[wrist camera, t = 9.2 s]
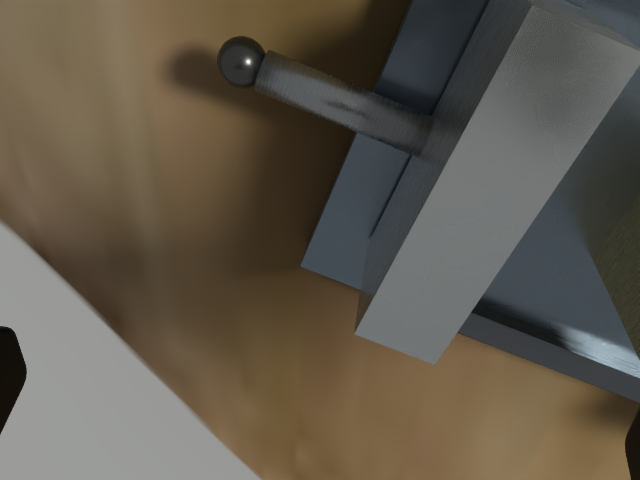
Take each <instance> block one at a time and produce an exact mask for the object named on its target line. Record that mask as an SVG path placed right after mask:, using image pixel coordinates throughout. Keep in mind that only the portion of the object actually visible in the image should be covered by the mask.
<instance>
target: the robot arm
mask: <svg viewBox="0 0 640 480" xmlns="http://www.w3.org/2000/svg"><path fill="white" fill-rule="evenodd" d="M26 374H27V370H26V364H25V361H24V358H23V355H22V352H21V349H20V346H19V343H18V340H17V337H16V334H15V332H14V331H13V330H12V329H11V328H8V327H3V326H0V434H1V432H2V430H3V428H4V426H5V423H6V421H7V419H8V417H9V415H10V413H11V411H12V409H13V407H14V405H15V403H16V400H17V398H18V396H19V394H20V392H21V390H22V388H23V386H24V382H25V380H26ZM625 452H626V457H627V462H628V467H629V471H630V476H631V480H640V407H639V409H638V411H637V413H636V416H635V418H634V420H633V422H632V424H631V426H630V429H629V431H628V433H627V436H626V440H625Z"/></svg>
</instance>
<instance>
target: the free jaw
mask: <svg viewBox="0 0 640 480" xmlns="http://www.w3.org/2000/svg"><path fill="white" fill-rule="evenodd" d="M639 65H640V49H639V48H637V47H636V46H635V45H633V44H632V43H631V42H629V41H628V40H627V39H625V38H624V37H623V36H621V35H620V34H618V33H617V32H616V31H614V30H613V29H612V28H610V27H609V26H608V25H606V24H605V23H603V22H602V21H601V20H599V19H598V18H597V17H595V16H594V15H593V14H591V13H590V12H588V11H587V10H584V9H582V8H580V7H577V6H575V5H573V4H570V3H568V2H566V1H563V0H490V1H489V3H488V5H487V7H486V9H485V11H484V13H483V15H482V17H481V19H480V21H479V23H478V25H477V27H476V29H475V31H474V33H473V35H472V37H471V39H470V41H469V43H468V45H467V47H466V49H465V51H464V53H463V55H462V57H461V59H460V61H459V63H458V65H457V67H456V69H455V71H454V73H453V75H452V77H451V79H450V81H449V83H448V85H447V87H446V89H445V91H444V93H443V95H442V97H441V99H440V101H439V103H438V105H437V107H436V109H435V111H434V113H433V115H432V116H429V115H427V114H424V113H422V112H419V111H417V110H415V109H412V108H410V107H407V106H405V105H402V104H400V103H398V102H395V101H393V100H390V99H388V98H385V97H383V96H380V95H378V94H376V93H373V92H371V91H368V90H366V89H363V88H361V87H359V86H356V85H354V84H351V83H349V82H346V81H344V80H342V79H339V78H337V77H334V76H332V75H329V74H327V73H325V72H322V71H320V70H317V69H315V68H312V67H310V66H308V65H305V64H303V63H300V62H298V61H295V60H293V59H291V58H288V57H286V56H283V55H281V54H278V53H276V52H273V51H271V50H268V52H267V53H266V54H265V51H264V50H263V48H262V47H261V45H260V44H259V43H258V42H256V41H255V40H254V39H252V38H249V37H245V36H237V37H233V38H231V39H229V40H227V41H226V42H225V43H224V44H223V45H222V47H221V48H220V50H219V53H218V56H217V66H218V70H219V73H220V75H221V76H222V78H223V79H224V80H225V81H226V82H227V83H228V84H230V85H232V86H234V87H237V88H249V87H252V86H254V85H255V88H254V90H255V91H256V92H258V93H261V94H263V95H265V96H268V97H270V98H273V99H275V100H278V101H280V102H283V103H285V104H288V105H290V106H293V107H295V108H297V109H300V110H302V111H305V112H307V113H310V114H312V115H315V116H317V117H320V118H322V119H325V120H327V121H330V122H332V123H334V124H337V125H339V126H342V127H344V128H347V129H349V130H352V131H354V132H357V133H359V134H362V135H364V136H367V137H369V138H371V139H374V140H376V141H379V142H381V143H384V144H386V145H389V146H391V147H394V148H396V149H399V150H401V151H403V152H406V153H408V154H411V155H412V157H411V159H410V161H409V163H408V165H407V167H406V169H405V171H404V173H403V175H402V177H401V179H400V181H399V183H398V185H397V187H396V189H395V191H394V193H393V195H392V197H391V199H390V201H389V203H388V205H387V207H386V209H385V211H384V213H383V215H382V217H381V219H380V221H379V223H378V225H377V227H376V229H375V231H374V233H373V235H372V237H371V239H370V241H369V243H368V245H367V249H366V256H365V263H364V270H363V277H362V283H361V290H360V297H359V304H358V311H357V318H356V324H355V331H354V334H355V335H358V336H360V337H363V338H365V339H368V340H371V341H373V342H376V343H379V344H381V345H384V346H386V347H389V348H392V349H394V350H397V351H400V352H402V353H405V354H407V355H410V356H413V357H415V358H418V359H421V360H423V361H426V362H428V363H431V364H434V365H435V364H436V363H437V361H438V360H439V358H440V357H441V356H442V354H443V353H444V351H445V350H446V348H447V347H448V345H449V344H450V342H451V341H452V339H453V338H454V336H455V335H456V334H457V332H458V331H459V329H460V328H461V326H462V325H463V323H464V322H465V320H466V319H467V317H468V316H469V314H470V313H471V312H472V310H473V309H474V307H475V306H476V304H477V303H478V301H479V300H480V298H481V297H482V295H483V294H484V292H485V291H486V290H487V288H488V287H489V285H490V284H491V282H492V281H493V279H494V278H495V276H496V275H497V273H498V272H499V270H500V269H501V268H502V266H503V265H504V263H505V262H506V260H507V259H508V257H509V256H510V254H511V253H512V251H513V250H514V249H515V247H516V246H517V244H518V243H519V241H520V240H521V238H522V237H523V235H524V234H525V232H526V231H527V229H528V228H529V227H530V225H531V224H532V222H533V221H534V219H535V218H536V216H537V215H538V213H539V212H540V210H541V209H542V207H543V206H544V205H545V203H546V202H547V200H548V199H549V197H550V196H551V194H552V193H553V191H554V190H555V188H556V187H557V185H558V184H559V183H560V181H561V180H562V178H563V177H564V175H565V174H566V172H567V171H568V169H569V168H570V166H571V165H572V164H573V162H574V161H575V159H576V158H577V156H578V155H579V153H580V152H581V150H582V149H583V147H584V146H585V144H586V143H587V142H588V140H589V139H590V137H591V136H592V134H593V133H594V131H595V130H596V128H597V127H598V125H599V124H600V122H601V121H602V120H603V118H604V117H605V115H606V114H607V112H608V111H609V109H610V108H611V106H612V105H613V103H614V102H615V100H616V99H617V98H618V96H619V95H620V93H621V92H622V90H623V89H624V87H625V86H626V84H627V83H628V81H629V80H630V78H631V77H632V76H633V74H634V73H635V71H636V70H637V68H638V67H639Z"/></svg>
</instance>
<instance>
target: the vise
mask: <svg viewBox="0 0 640 480" xmlns="http://www.w3.org/2000/svg"><path fill="white" fill-rule="evenodd" d="M489 1H490V0H411V1H410V3H409V5H408V8H407V10H406V12H405V15H404V17H403V19H402V22H401V24H400V26H399V29H398V31H397V33H396V36H395V38H394V41H393V43H392V45H391V48H390V50H389V52H388V55H387V57H386V59H385V62H384V64H383V66H382V69H381V71H380V74H379V76H378V78H377V81H376V83H375V85H374V88H373V90H372V92H373V93H376V94H378V95H380V96H383V97H385V98H388V99H390V100H393V101H395V102H398V103H400V104H402V105H405V106H407V107H410V108H412V109H415V110H417V111H419V112H422V113H424V114H427V115H429V116H432V115H433V113H434V111H435V109H436V107H437V105H438V103H439V101H440V99H441V97H442V95H443V93H444V91H445V89H446V87H447V85H448V83H449V81H450V79H451V77H452V75H453V73H454V71H455V69H456V67H457V65H458V63H459V61H460V59H461V57H462V55H463V53H464V51H465V49H466V47H467V45H468V43H469V41H470V39H471V37H472V35H473V33H474V31H475V29H476V27H477V25H478V23H479V21H480V19H481V17H482V15H483V13H484V11H485V9H486V7H487V5H488V3H489ZM563 1H566V2H568V3H570V4H573V5H575V6H577V7H580V8H582V9H584V10H587V11H588V12H590V13H591V14H593V15H594V16H595V17H597V18H598V19H599V20H601V21H602V22H603V23H605V24H606V25H608V26H609V27H610V28H612V29H613V30H614V31H616V32H617V33H618V34H620V35H621V36H623V37H624V38H625V39H627V40H628V41H629V42H631V43H632V44H633V45H635V46H636V47H637V48H639V49H640V0H563ZM411 157H412V155H411V154H408V153H406V152H403V151H401V150H399V149H396V148H394V147H391V146H389V145H386V144H384V143H381V142H379V141H376V140H374V139H371V138H369V137H367V136H364V135H362V134H359V133H357V132H354V135H353V137H352V139H351V142H350V144H349V147H348V149H347V151H346V154H345V156H344V158H343V161H342V163H341V165H340V168H339V170H338V172H337V175H336V177H335V180H334V182H333V184H332V187H331V189H330V191H329V194H328V196H327V198H326V201H325V203H324V205H323V208H322V210H321V213H320V215H319V217H318V220H317V222H316V224H315V227H314V229H313V231H312V234H311V236H310V238H309V241H308V243H307V246H306V249H305V252H304V255H303V259H302V262H301V265H300V267H303V268H305V269H308V270H310V271H313V272H315V273H318V274H321V275H323V276H326V277H328V278H331V279H334V280H336V281H339V282H341V283H344V284H346V285H349V286H352V287H354V288H357V289H359V290H361V283H362V277H363V270H364V263H365V256H366V249H367V245H368V243H369V241H370V239H371V237H372V235H373V233H374V231H375V229H376V227H377V225H378V223H379V221H380V219H381V217H382V215H383V213H384V211H385V209H386V207H387V205H388V203H389V201H390V199H391V197H392V195H393V193H394V191H395V189H396V187H397V185H398V183H399V181H400V179H401V177H402V175H403V173H404V171H405V169H406V167H407V165H408V163H409V161H410V159H411ZM639 195H640V65H639V67H638V68H637V70H636V71H635V73H634V74H633V76H632V77H631V78H630V80H629V81H628V83H627V84H626V86H625V87H624V89H623V90H622V92H621V93H620V95H619V96H618V98H617V99H616V100H615V102H614V103H613V105H612V106H611V108H610V109H609V111H608V112H607V114H606V115H605V117H604V118H603V120H602V121H601V122H600V124H599V125H598V127H597V128H596V130H595V131H594V133H593V134H592V136H591V137H590V139H589V140H588V142H587V143H586V144H585V146H584V147H583V149H582V150H581V152H580V153H579V155H578V156H577V158H576V159H575V161H574V162H573V164H572V165H571V166H570V168H569V169H568V171H567V172H566V174H565V175H564V177H563V178H562V180H561V181H560V183H559V184H558V185H557V187H556V188H555V190H554V191H553V193H552V194H551V196H550V197H549V199H548V200H547V202H546V203H545V205H544V206H543V207H542V209H541V210H540V212H539V213H538V215H537V216H536V218H535V219H534V221H533V222H532V224H531V225H530V227H529V228H528V229H527V231H526V232H525V234H524V235H523V237H522V238H521V240H520V241H519V243H518V244H517V246H516V247H515V249H514V250H513V251H512V253H511V254H510V256H509V257H508V259H507V260H506V262H505V263H504V265H503V266H502V268H501V269H500V270H499V272H498V273H497V275H496V276H495V278H494V279H493V281H492V282H491V284H490V285H489V287H488V288H487V290H486V291H485V292H484V294H483V295H482V297H481V298H480V300H479V301H478V303H477V304H476V306H475V307H474V309H473V310H472V312H471V313H470V314H469V316H468V317H467V319H466V320H465V322H464V323H463V325H462V326H461V328H460V329H459V331H458V332H457V333H460V334H463V335H465V336H468V337H470V338H473V339H476V340H478V341H481V342H483V343H486V344H488V345H491V346H494V347H496V348H499V349H501V350H504V351H507V352H509V353H512V354H514V355H517V356H520V357H522V358H525V359H527V360H530V361H532V362H535V363H538V364H540V365H543V366H545V367H548V368H551V369H553V370H556V371H558V372H561V373H564V374H566V375H569V376H571V377H574V378H576V379H579V380H582V381H584V382H587V383H589V384H592V385H595V386H597V387H600V388H602V389H605V390H608V391H610V392H613V393H615V394H618V395H620V396H623V397H626V398H628V399H631V400H633V401H636V402H639V403H640V360H639V358H638V356H637V354H636V352H635V350H634V348H633V345H632V343H631V341H630V339H629V337H628V335H627V332H626V330H625V328H624V326H623V324H622V322H621V320H620V317H619V315H618V313H617V311H616V309H615V307H614V305H613V302H612V300H611V298H610V296H609V294H608V292H607V289H606V287H605V285H604V283H603V281H602V279H601V277H600V274H599V272H598V270H597V268H596V266H595V264H594V262H593V259H592V257H591V256H592V255H593V254H594V253H595V251H596V250H597V249H598V247H599V246H600V245H601V244H602V242H603V241H604V240H605V239H606V237H607V236H608V235H609V233H610V232H611V231H612V230H613V228H614V227H615V226H616V225H617V223H618V222H619V221H620V219H621V218H622V217H623V216H624V214H625V213H626V212H627V211H628V209H629V208H630V207H631V205H632V204H633V203H634V202H635V200H636V199H637V198H638V197H639Z"/></svg>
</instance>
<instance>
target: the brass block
mask: <svg viewBox="0 0 640 480" xmlns="http://www.w3.org/2000/svg"><path fill="white" fill-rule="evenodd" d="M591 257H592V259H593V262H594V264H595V266H596V268H597V270H598V272H599V274H600V277H601V279H602V281H603V283H604V285H605V287H606V289H607V292H608V294H609V296H610V298H611V300H612V302H613V305H614V307H615V309H616V311H617V313H618V315H619V317H620V320H621V322H622V324H623V326H624V328H625V330H626V332H627V335H628V337H629V339H630V341H631V343H632V345H633V348H634V350H635V352H636V354H637V356H638V358H639V360H640V195H639V197H638V198H637V199H636V200H635V202H634V203H633V204H632V205H631V207H630V208H629V209H628V211H627V212H626V213H625V214H624V216H623V217H622V218H621V219H620V221H619V222H618V223H617V225H616V226H615V227H614V228H613V230H612V231H611V232H610V233H609V235H608V236H607V237H606V239H605V240H604V241H603V242H602V244H601V245H600V246H599V247H598V249H597V250H596V251H595V253H594V254H593V255H592V256H591Z"/></svg>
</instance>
